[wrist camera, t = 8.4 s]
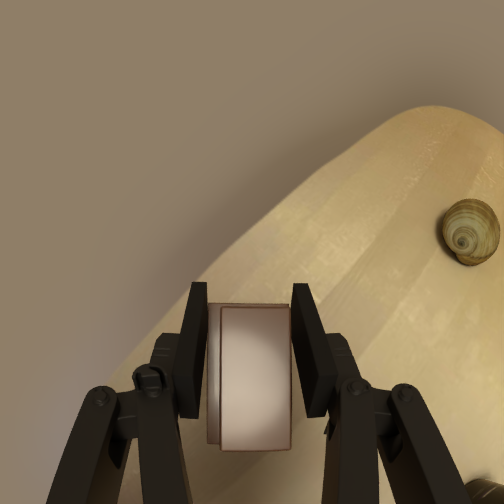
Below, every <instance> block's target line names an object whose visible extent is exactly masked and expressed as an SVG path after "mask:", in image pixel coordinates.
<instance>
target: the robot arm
mask: <svg viewBox="0 0 504 504" xmlns="http://www.w3.org/2000/svg"><path fill="white" fill-rule="evenodd" d="M207 333H208V302H207V282H192V285H191V289H190V293H189V297H188V301H187V306H186V310H185V314H184V319H183V323H182V327H181V332H180V334H176V333H162V334H161V335H160V336H159V337H158V338H157V340H156V342H155V346H154V349H153V352H152V356H151V359H150V363H148V364H144V365H141V366H139V367H138V368H136V370H135V371H134V372H133V375H132V379H133V382H134V385H135V389H134V390H132V391H128V392H121V393H116V392H115V391H114V390H113V389H112V388H110V387H107V386H98V387H95V388H93V389H91V390H90V391H89V392H88V393H87V395H86V397H85V399H84V401H83V404H82V406H81V409H80V411H79V413H78V416H77V419H76V421H75V423H74V426H73V428H72V431H71V433H70V436H69V439H68V441H67V444H66V447H65V449H64V452H63V455H62V458H61V460H60V463H59V466H58V469H57V472H56V474H55V477H54V480H53V483H52V486H51V489H50V492H49V495H48V499H47V502H46V504H117V501H118V497H119V492H120V487H121V483H122V479H123V474H124V470H125V466H126V461H127V457H128V453H129V449H130V445H131V441H132V439H133V438H138V448H139V463H140V475H141V485H142V495H143V504H193V501H192V497H191V492H190V487H189V482H188V477H187V471H186V466H185V461H184V455H183V449H182V443H181V437H180V430H179V425H178V414H179V415H180V418H187V419H198V418H199V407H200V397H201V387H202V378H203V368H204V359H205V350H206V341H207ZM291 339H292V344H293V349H294V354H295V359H296V363H297V368H298V373H299V378H300V383H301V388H302V393H303V398H304V404H305V409H306V414H307V418H316V417H325V415H326V412H327V409H328V413H329V417H330V418H329V420H328V423H327V426H326V428H325V431H324V434H326V433H327V437H326V454H325V468H324V480H323V491H322V501H321V504H379V471H378V451H379V454H380V457H381V460H382V463H383V466H384V469H385V472H386V475H387V478H388V481H389V484H390V487H391V490H392V493H393V496H394V499H395V503H396V504H472V502H471V500H470V497H469V495H468V493H467V490H466V488H465V486H464V483H463V481H462V479H461V476H460V474H459V472H458V470H457V467H456V465H455V463H454V461H453V459H452V457H451V454H450V452H449V450H448V448H447V446H446V444H445V442H444V440H443V438H442V436H441V433H440V431H439V429H438V427H437V425H436V423H435V421H434V419H433V417H432V415H431V413H430V411H429V410H428V408H427V406H426V404H425V402H424V400H423V398H422V396H421V394H420V392H419V391H418V390H417V388H415V387H414V386H412V385H409V384H398V385H396V386H394V387H393V388H392V390H391V391H389V390H381V389H376V388H373V387H371V384H370V383H369V382H368V381H366V380H365V379H363V378H362V377H361V375H360V372H359V370H358V367H357V365H356V362H355V359H354V357H353V355H352V352H351V349H350V347H349V345H348V342H347V340H346V339H345V338H344V337H343V336H342V335H341V334H340V333H329V334H325V331H324V328H323V325H322V323H321V320H320V317H319V314H318V311H317V308H316V305H315V303H314V300H313V297H312V294H311V291H310V288H309V286H308V283H293V292H292V300H291ZM377 448H378V450H377Z"/></svg>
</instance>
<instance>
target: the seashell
mask: <svg viewBox="0 0 504 504" xmlns="http://www.w3.org/2000/svg"><path fill="white" fill-rule="evenodd" d="M442 230H443V236H444V239H445V241H446V243H447V245H448V246H449V247H450V249H451V250H452V251H454V252H455V253H456V257H457V258H458V260H459V261H460V262H462V263H464V264H466V265H471V266H473V265H478V264H480V263H483V262H485V261H486V260H487V259H489V258H490V257H491V256H492V255H493V254H494V252H495V251H496V249H497V247H498V244H499V239H500V225H499V222H498V219H497V216H496V215H495V213H494V211H493V210H492V208H491V207H490V206H489V205H488V204H486V203H484V202H483V201H480V200H477V199H464V200H460V201H458V202H457V203H455V204H454V205H453V206H451V208H450V209H449V210H448V212H447V213H446V215H445V217H444V221H443V226H442Z"/></svg>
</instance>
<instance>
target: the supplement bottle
mask: <svg viewBox="0 0 504 504" xmlns="http://www.w3.org/2000/svg"><path fill="white" fill-rule="evenodd" d="M465 488H466V490H467V493H468V495H469V497H470V500H471V502H472V504H504V485H501V484H498V483H495V482H492V481H488V480H484V479H479V480H475V481H473V482H471V483H469V484H468V485H466V486H465Z"/></svg>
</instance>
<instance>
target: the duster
mask: <svg viewBox="0 0 504 504" xmlns="http://www.w3.org/2000/svg"><path fill="white" fill-rule="evenodd" d="M207 444H219V446H220V451H222V452H265V451H287V450H291V448H292V353H291V309H290V307H289V304H244V303H208V335H207Z"/></svg>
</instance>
